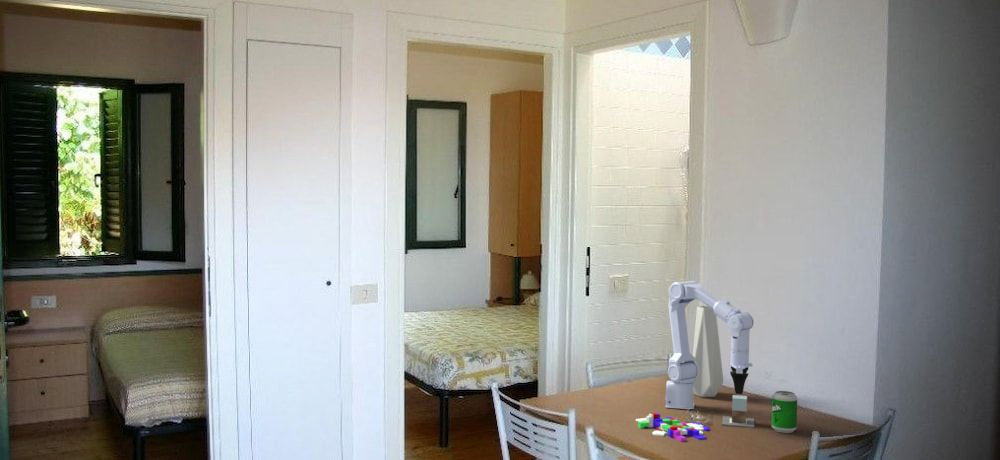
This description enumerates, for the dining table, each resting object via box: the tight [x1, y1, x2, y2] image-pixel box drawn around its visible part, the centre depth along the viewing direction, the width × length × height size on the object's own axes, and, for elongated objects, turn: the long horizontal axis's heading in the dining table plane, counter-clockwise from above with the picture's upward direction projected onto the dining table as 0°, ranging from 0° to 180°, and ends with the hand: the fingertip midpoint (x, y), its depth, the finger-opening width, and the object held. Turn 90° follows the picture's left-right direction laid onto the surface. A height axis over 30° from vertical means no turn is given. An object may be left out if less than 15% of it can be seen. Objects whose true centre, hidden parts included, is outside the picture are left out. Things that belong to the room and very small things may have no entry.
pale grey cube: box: [731, 394, 748, 412], centre depth 279 cm, size 4×4×4 cm
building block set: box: [635, 412, 711, 443], centre depth 271 cm, size 25×20×4 cm
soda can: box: [771, 390, 798, 434], centre depth 270 cm, size 8×8×12 cm
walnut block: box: [731, 409, 747, 424], centre depth 279 cm, size 4×4×4 cm
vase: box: [692, 305, 724, 398], centre depth 315 cm, size 12×12×33 cm
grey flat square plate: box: [721, 415, 755, 429], centre depth 279 cm, size 10×10×1 cm
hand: (739, 391), depth 278 cm, fingers open, 7 cm apart
